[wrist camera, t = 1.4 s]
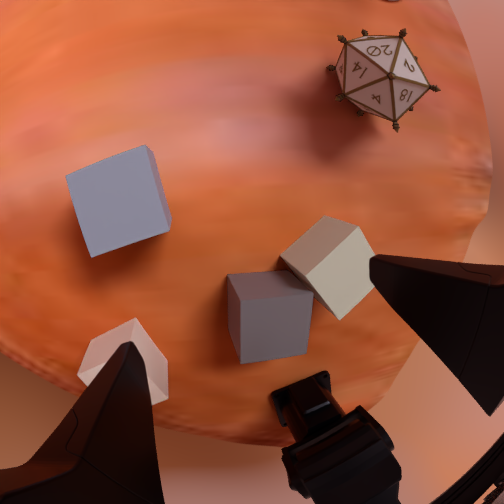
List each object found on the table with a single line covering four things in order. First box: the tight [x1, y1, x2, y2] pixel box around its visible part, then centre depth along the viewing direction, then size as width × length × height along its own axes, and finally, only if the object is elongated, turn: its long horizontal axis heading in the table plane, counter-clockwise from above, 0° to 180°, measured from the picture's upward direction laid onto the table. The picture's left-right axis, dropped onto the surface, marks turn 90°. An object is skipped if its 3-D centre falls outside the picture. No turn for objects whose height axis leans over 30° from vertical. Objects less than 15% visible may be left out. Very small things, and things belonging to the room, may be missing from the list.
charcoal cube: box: [227, 270, 314, 364], centre depth 21 cm, size 5×5×5 cm
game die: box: [326, 28, 441, 133], centre depth 17 cm, size 9×8×10 cm
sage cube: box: [280, 215, 375, 320], centre depth 21 cm, size 5×5×5 cm
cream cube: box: [77, 318, 168, 405], centre depth 19 cm, size 5×5×5 cm
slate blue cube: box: [66, 145, 172, 258], centre depth 16 cm, size 5×5×5 cm
